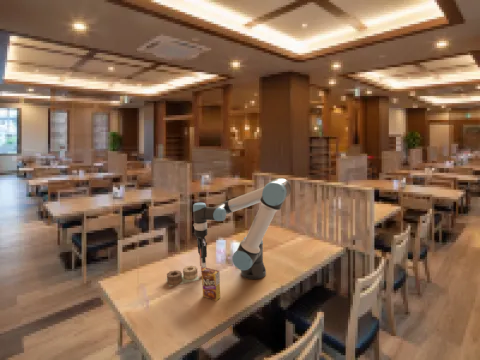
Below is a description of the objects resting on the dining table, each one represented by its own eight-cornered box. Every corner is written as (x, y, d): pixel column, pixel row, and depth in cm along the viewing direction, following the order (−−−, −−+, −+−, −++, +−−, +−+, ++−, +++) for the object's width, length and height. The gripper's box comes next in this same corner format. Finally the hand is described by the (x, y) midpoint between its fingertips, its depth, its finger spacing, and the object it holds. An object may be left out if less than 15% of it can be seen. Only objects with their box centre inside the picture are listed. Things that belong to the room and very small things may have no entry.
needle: (204, 272, 180) (203, 247, 177) (206, 274, 177) (204, 249, 175) (200, 273, 179) (199, 248, 176) (202, 275, 176) (200, 250, 174)
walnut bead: (179, 277, 177) (179, 269, 176) (183, 283, 170) (182, 275, 169) (166, 280, 173) (165, 272, 173) (169, 286, 166) (168, 278, 165)
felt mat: (195, 272, 183) (195, 272, 183) (199, 280, 174) (199, 279, 174) (165, 279, 175) (165, 278, 175) (169, 287, 166) (169, 286, 166)
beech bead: (195, 272, 183) (194, 264, 182) (198, 277, 175) (198, 270, 175) (182, 275, 179) (182, 267, 179) (185, 280, 172) (185, 272, 171)
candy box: (202, 297, 156) (201, 270, 153) (206, 293, 159) (205, 266, 157) (216, 301, 151) (215, 273, 149) (220, 297, 155) (219, 270, 152)
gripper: (191, 226, 179) (193, 263, 183) (198, 233, 165) (200, 272, 169) (203, 224, 182) (205, 260, 186) (211, 231, 168) (213, 270, 172)
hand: (203, 266), depth 177 cm, fingers closed on needle, 2 cm apart
